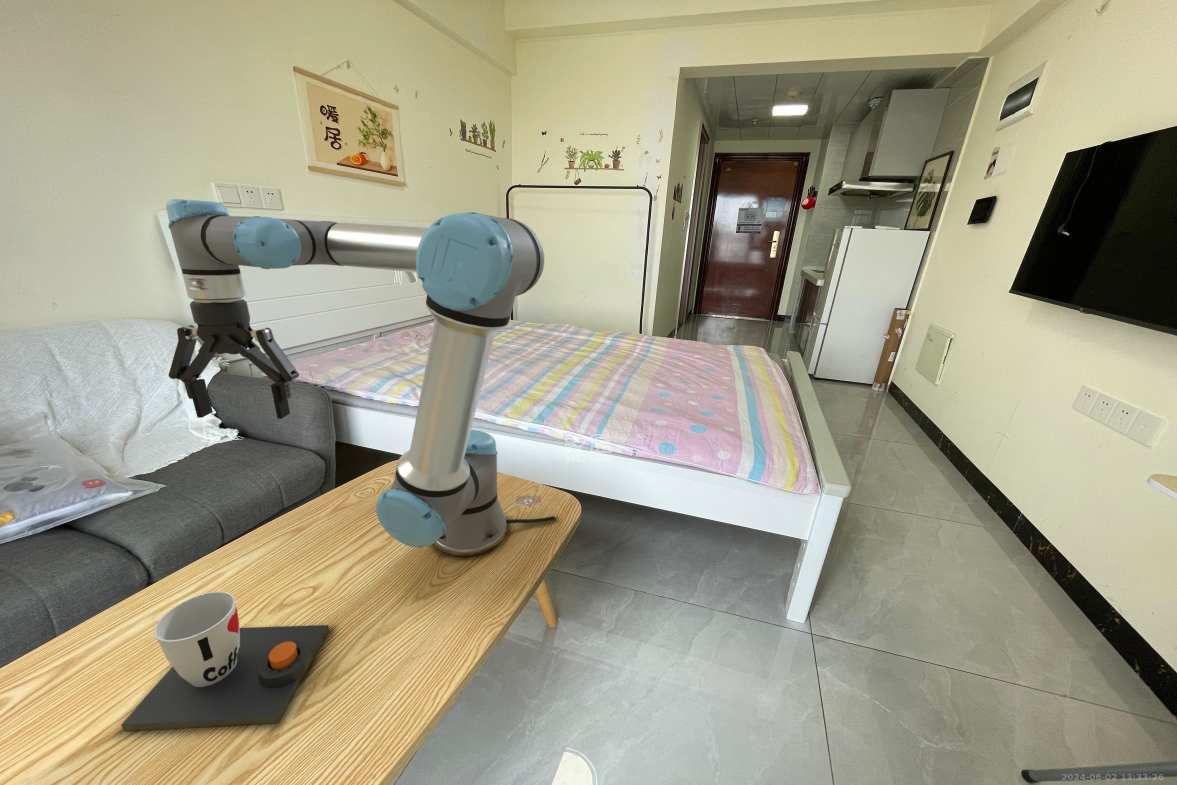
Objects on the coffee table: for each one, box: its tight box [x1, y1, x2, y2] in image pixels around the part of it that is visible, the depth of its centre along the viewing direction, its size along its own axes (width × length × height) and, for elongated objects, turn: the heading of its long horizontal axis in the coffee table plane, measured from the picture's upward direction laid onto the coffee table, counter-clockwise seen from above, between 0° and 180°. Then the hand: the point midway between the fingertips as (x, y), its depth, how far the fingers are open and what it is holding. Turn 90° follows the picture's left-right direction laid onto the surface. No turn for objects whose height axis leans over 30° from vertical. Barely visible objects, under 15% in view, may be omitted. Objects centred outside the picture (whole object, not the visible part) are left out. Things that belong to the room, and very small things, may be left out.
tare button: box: [269, 641, 298, 670], centre depth 61 cm, size 3×3×2 cm
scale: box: [121, 624, 330, 732], centre depth 61 cm, size 19×14×3 cm
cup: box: [153, 590, 241, 687], centre depth 59 cm, size 8×8×10 cm
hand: (244, 415), depth 80 cm, fingers open, 13 cm apart
